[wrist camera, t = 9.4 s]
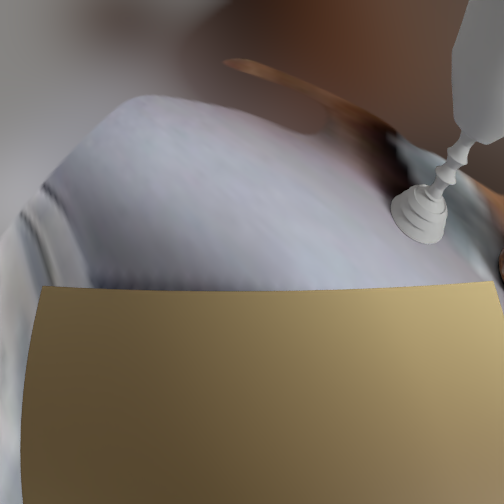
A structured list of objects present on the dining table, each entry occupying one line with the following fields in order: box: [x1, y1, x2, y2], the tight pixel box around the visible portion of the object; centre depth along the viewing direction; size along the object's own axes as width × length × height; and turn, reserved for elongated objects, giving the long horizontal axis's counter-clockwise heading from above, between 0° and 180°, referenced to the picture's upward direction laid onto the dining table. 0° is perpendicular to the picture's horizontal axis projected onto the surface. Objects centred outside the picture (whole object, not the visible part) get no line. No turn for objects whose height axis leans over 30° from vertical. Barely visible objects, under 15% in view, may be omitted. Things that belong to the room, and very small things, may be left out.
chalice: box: [391, 0, 504, 244], centre depth 15 cm, size 7×7×18 cm
